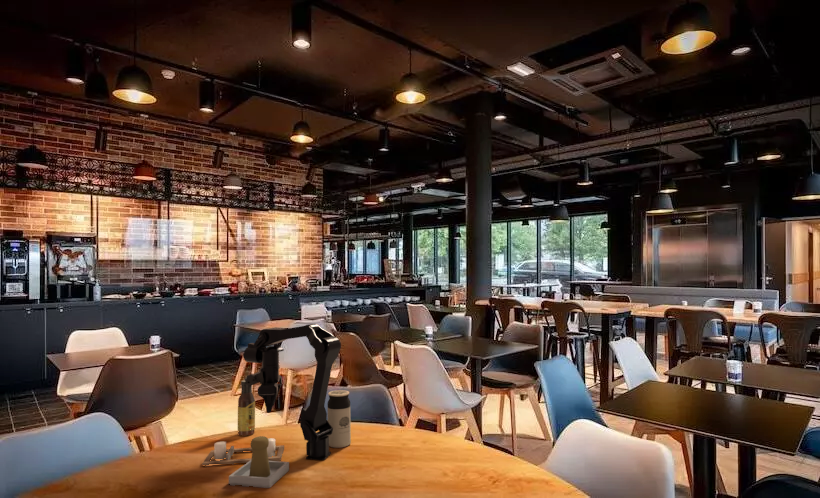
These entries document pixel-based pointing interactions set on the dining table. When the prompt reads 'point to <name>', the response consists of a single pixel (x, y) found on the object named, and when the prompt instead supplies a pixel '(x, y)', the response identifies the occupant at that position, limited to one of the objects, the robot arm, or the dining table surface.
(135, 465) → the dining table surface
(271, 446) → the cylinder
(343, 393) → the travel mug
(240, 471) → the tray
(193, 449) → the dining table surface
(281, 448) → the ladder
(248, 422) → the sauce bottle
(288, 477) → the dining table surface
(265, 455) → the cork
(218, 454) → the white short cylinder
